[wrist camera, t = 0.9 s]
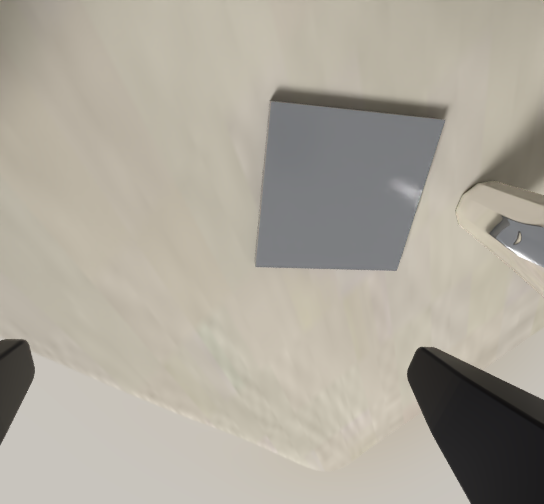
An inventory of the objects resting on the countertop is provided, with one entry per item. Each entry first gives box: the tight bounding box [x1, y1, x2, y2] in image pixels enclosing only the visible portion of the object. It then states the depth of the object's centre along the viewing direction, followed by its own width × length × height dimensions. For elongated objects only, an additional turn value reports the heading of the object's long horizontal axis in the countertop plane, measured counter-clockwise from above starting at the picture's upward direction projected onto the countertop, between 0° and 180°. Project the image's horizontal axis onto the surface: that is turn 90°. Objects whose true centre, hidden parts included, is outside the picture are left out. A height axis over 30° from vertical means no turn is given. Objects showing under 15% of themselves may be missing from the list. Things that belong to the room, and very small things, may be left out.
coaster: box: [255, 100, 445, 271], centre depth 19 cm, size 9×9×1 cm
